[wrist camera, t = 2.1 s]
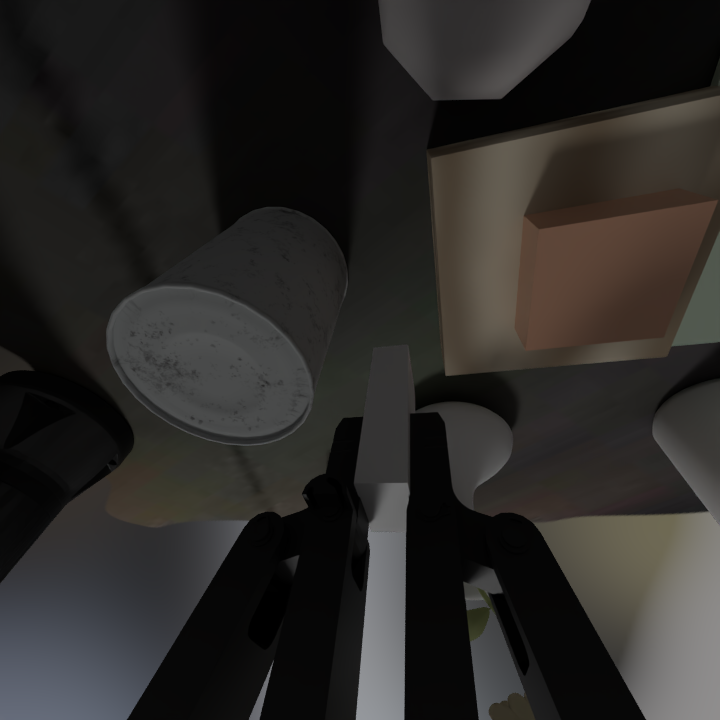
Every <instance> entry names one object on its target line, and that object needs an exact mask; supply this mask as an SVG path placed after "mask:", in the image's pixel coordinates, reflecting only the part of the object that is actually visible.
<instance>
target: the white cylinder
mask: <svg viewBox="0 0 720 720" xmlns="http://www.w3.org/2000/svg"><path fill="white" fill-rule="evenodd" d="M347 286H348V269H347V265H346V262H345V258H344V255H343V253H342V251H341V249H340V247H339V245H338V243H337V241H336V240H335V239H334V238H333V236H332V235H331V234H330V233H329V232H328V230H327V229H326V228H325V227H323V226H322V225H321V224H320V223H318V222H317V221H316V220H315V219H313V218H311V217H309V216H307V215H306V214H304V213H302V212H300V211H297V210H293V209H289V208H285V207H264V208H260V209H256V210H253V211H251V212H249V213H248V214H246V215H244V216H242V217H241V218H239V219H238V221H237V222H236V223H235V224H233V225H232V226H231V227H229V228H228V229H226V230H225V231H223V232H222V233H221V234H219V235H218V236H216V237H215V238H214V239H212V240H211V241H209V242H208V243H206V244H205V245H204V246H202V247H201V248H199V249H198V250H196V251H195V252H194V253H192V254H191V255H189V256H188V257H187V258H185V259H184V260H182V261H181V262H179V263H178V264H177V265H175V266H174V267H172V268H171V269H169V270H168V271H167V272H165V273H164V274H162V275H161V276H160V277H158V278H157V279H155V280H154V281H152V282H151V283H150V284H148V285H147V286H145V287H143V288H141V289H139V290H137V291H135V292H134V293H132V294H130V295H128V296H126V297H125V298H124V299H123V300H122V301H121V302H120V303H119V305H118V306H117V307H116V308H115V309H114V311H113V312H112V314H111V317H110V320H109V323H108V326H107V329H106V338H107V350H108V353H109V356H110V359H111V362H112V365H113V367H114V369H115V370H116V372H117V374H118V375H119V377H120V379H121V381H122V382H123V384H124V385H125V386H126V387H127V388H128V389H129V391H130V392H131V393H132V394H133V395H134V396H135V398H136V399H137V400H139V401H140V402H141V403H142V404H143V405H144V406H146V407H147V408H148V409H149V410H150V411H151V412H153V413H154V414H156V415H157V416H159V417H160V418H162V419H163V420H165V421H166V422H168V423H169V424H171V425H173V426H175V427H177V428H179V429H181V430H183V431H185V432H187V433H189V434H192V435H195V436H198V437H201V438H204V439H206V440H210V441H215V442H219V443H224V444H231V445H244V446H248V445H260V444H266V443H270V442H274V441H277V440H280V439H282V438H284V437H286V436H288V435H290V434H292V433H293V432H294V431H295V430H296V429H297V428H298V427H299V426H301V425H302V424H303V423H304V422H305V420H306V418H307V416H308V414H309V412H310V411H311V409H312V404H313V399H314V393H315V389H316V386H317V382H318V379H319V376H320V373H321V369H322V366H323V363H324V360H325V356H326V353H327V350H328V347H329V343H330V340H331V337H332V334H333V330H334V327H335V324H336V320H337V317H338V314H339V311H340V307H341V304H342V302H343V300H344V298H345V295H346V291H347Z"/></svg>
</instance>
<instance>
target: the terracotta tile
mask: <svg viewBox="0 0 720 720" xmlns="http://www.w3.org/2000/svg"><path fill="white" fill-rule="evenodd" d="M717 202H718V200H717V199H713V198H710V197H707V196H703V195H700V194H697V193H693V192H690V191H687V190H683V189H680V188H679V189H673V190H667V191H661V192H656V193H650V194H644V195H638V196H633V197H627V198H621V199H615V200H610V201H604V202H598V203H592V204H586V205H581V206H575V207H569V208H563V209H558V210H552V211H546V212H540V213H535V214H529V215H524V217H523V229H522V241H521V254H520V266H519V278H518V290H517V303H516V315H515V327H514V329H515V331H516V333H517V335H518V337H519V338H520V340H521V342H522V344H523V346H524V348H525V350H526V351H530V350H540V349H550V348H561V347H571V346H581V345H592V344H602V343H612V342H622V341H633V340H643V339H653V338H663V337H664V336H665V333H666V331H667V328H668V326H669V323H670V321H671V318H672V316H673V313H674V311H675V308H676V306H677V303H678V301H679V298H680V296H681V293H682V291H683V288H684V285H685V283H686V280H687V278H688V275H689V273H690V270H691V268H692V265H693V263H694V260H695V258H696V255H697V253H698V250H699V248H700V245H701V243H702V240H703V238H704V235H705V232H706V230H707V227H708V225H709V222H710V220H711V217H712V215H713V212H714V210H715V207H716V205H717Z"/></svg>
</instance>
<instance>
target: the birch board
mask: <svg viewBox="0 0 720 720" xmlns="http://www.w3.org/2000/svg"><path fill="white" fill-rule="evenodd" d="M427 163H428V177H429V190H430V204H431V218H432V232H433V245H434V259H435V273H436V287H437V300H438V314H439V328H440V342H441V350H442V356H443V362H444V369H445V375H446V376H451V375H462V374H474V373H485V372H497V371H508V370H519V369H531V368H542V367H554V366H565V365H577V364H588V363H600V362H611V361H623V360H634V359H645V358H657V357H667V355H668V353H669V350H670V348H671V346H672V343H673V341H674V339H675V336H676V334H677V331H678V329H679V327H680V324H681V322H682V319H683V317H684V315H685V312H686V310H687V308H688V305H689V303H690V300H691V298H692V296H693V293H694V291H695V288H696V286H697V284H698V281H699V279H700V277H701V274H702V272H703V269H704V267H705V265H706V262H707V260H708V257H709V255H710V253H711V250H712V248H713V246H714V243H715V241H716V238H717V236H718V234H719V231H720V86H710V87H705V88H701V89H696V90H692V91H687V92H683V93H678V94H674V95H669V96H665V97H660V98H656V99H651V100H647V101H642V102H638V103H633V104H629V105H624V106H620V107H615V108H611V109H607V110H602V111H598V112H593V113H589V114H584V115H580V116H575V117H571V118H566V119H562V120H557V121H553V122H548V123H544V124H539V125H535V126H530V127H526V128H521V129H517V130H512V131H508V132H503V133H499V134H494V135H490V136H485V137H481V138H476V139H472V140H467V141H463V142H458V143H454V144H449V145H445V146H440V147H436V148H431V149H427ZM679 188H680V189H683V190H687V191H690V192H693V193H697V194H700V195H703V196H707V197H710V198H713V199H717V200H718V202H717V205H716V207H715V210H714V212H713V215H712V217H711V220H710V222H709V225H708V227H707V230H706V232H705V235H704V238H703V240H702V243H701V245H700V248H699V250H698V253H697V255H696V258H695V260H694V263H693V265H692V268H691V270H690V273H689V275H688V278H687V280H686V283H685V285H684V288H683V291H682V293H681V296H680V298H679V301H678V303H677V306H676V308H675V311H674V313H673V316H672V318H671V321H670V323H669V326H668V328H667V331H666V333H665V336H664V337H663V338H653V339H643V340H633V341H622V342H612V343H602V344H592V345H581V346H571V347H561V348H550V349H540V350H530V351H526V350H525V348H524V346H523V344H522V342H521V340H520V338H519V337H518V335H517V333H516V331H515V329H514V327H515V315H516V303H517V290H518V278H519V266H520V254H521V241H522V229H523V217H524V215H529V214H535V213H540V212H546V211H552V210H558V209H563V208H569V207H575V206H581V205H586V204H592V203H598V202H604V201H610V200H615V199H621V198H627V197H633V196H638V195H644V194H650V193H656V192H661V191H667V190H673V189H679Z"/></svg>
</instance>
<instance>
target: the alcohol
mask: <svg viewBox="0 0 720 720" xmlns="http://www.w3.org/2000/svg"><path fill="white" fill-rule="evenodd" d="M652 434H653V436H654V439H655V440H656V442H657V443H658V444H659V446H660V447H661V448H662V450H663V451H664V452H665V454H666V455H667V456H668V458H669V459H670V460H671V462H672V463H673V464H674V466H675V467H676V468H677V470H678V471H679V472H680V474H681V475H682V476H683V478H684V479H685V480H686V482H687V483H688V484H689V486H690V487H691V488H692V489H693V491H694V492H695V493H696V495H697V496H698V497H699V499H700V500H701V501H702V503H703V504H704V505H705V507H706V508H707V509H708V511H709V512H710V513H711V515H712V516H713V517H714V519H715V520H716V521H717V523H718V524H719V525H720V378H718V379H712V380H708V381H704V382H701V383H698V384H695V385H692V386H690V387H688V388H685V389H683V390H681V391H679V392H678V393H676V394H674V395H673V396H671V397H670V398H669V399H668V400H666V401H665V402H664V403H663V404H662V405H661V406H660V407H659V409H658V410H657V412H656V413H655V416H654V419H653V427H652Z"/></svg>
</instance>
